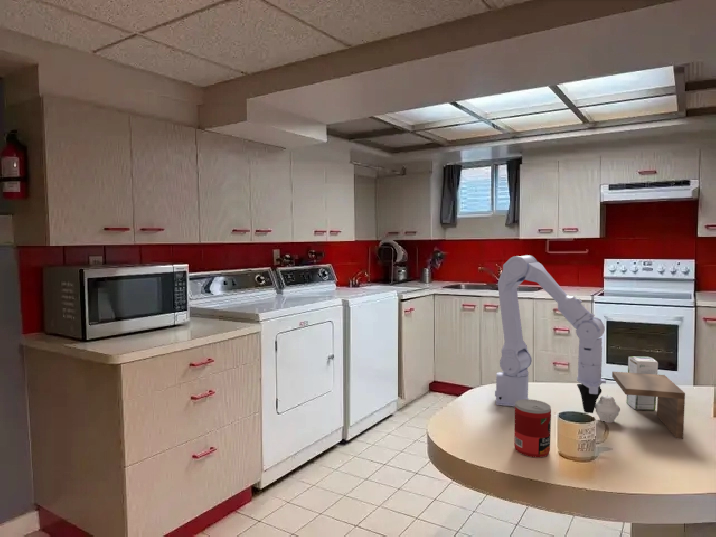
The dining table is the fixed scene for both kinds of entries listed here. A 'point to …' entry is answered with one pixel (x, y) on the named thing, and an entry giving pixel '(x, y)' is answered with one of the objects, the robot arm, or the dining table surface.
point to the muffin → (607, 408)
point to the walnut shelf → (663, 389)
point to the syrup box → (645, 367)
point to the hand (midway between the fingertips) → (588, 411)
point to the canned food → (532, 428)
